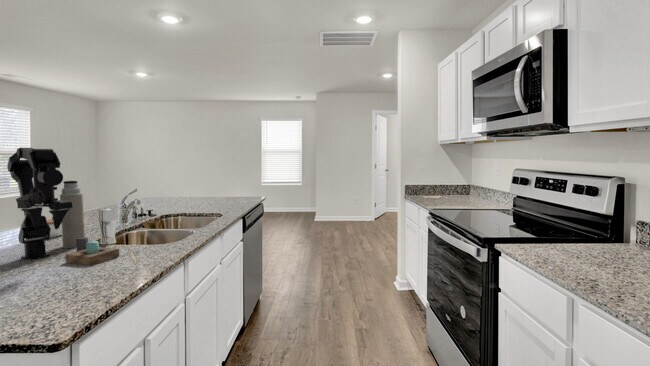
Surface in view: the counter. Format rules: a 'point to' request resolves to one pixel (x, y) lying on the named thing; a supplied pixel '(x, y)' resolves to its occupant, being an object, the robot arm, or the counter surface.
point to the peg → (92, 247)
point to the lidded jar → (54, 231)
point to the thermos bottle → (72, 215)
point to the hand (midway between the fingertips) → (46, 228)
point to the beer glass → (107, 225)
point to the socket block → (92, 256)
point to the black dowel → (81, 243)
